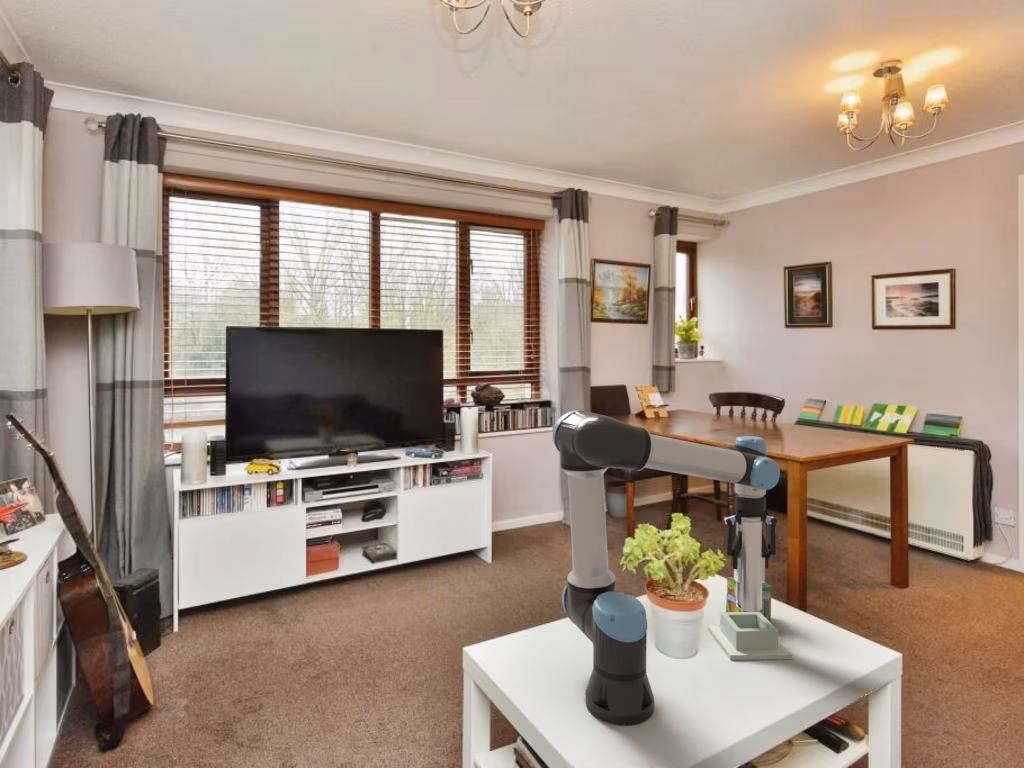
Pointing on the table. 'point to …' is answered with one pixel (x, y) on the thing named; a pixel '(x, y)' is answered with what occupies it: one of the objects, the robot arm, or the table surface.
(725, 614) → the socket block
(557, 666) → the table surface
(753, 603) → the silver metal bar
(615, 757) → the table surface
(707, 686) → the table surface
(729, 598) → the chalk box
